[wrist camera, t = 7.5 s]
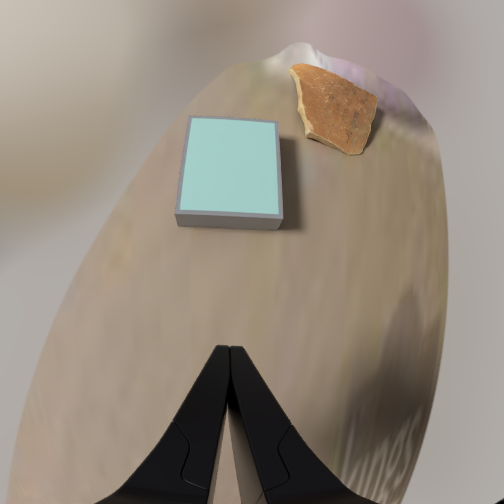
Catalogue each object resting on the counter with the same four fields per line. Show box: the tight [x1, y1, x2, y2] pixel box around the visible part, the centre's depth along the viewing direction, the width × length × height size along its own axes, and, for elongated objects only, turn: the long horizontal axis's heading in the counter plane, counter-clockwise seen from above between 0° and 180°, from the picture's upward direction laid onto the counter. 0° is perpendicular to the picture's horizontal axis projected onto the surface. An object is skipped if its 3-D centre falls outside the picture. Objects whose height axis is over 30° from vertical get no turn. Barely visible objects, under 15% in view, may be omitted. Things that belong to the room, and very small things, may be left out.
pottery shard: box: [288, 64, 378, 156], centre depth 25 cm, size 10×9×2 cm
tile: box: [175, 116, 283, 231], centre depth 22 cm, size 2×7×8 cm
